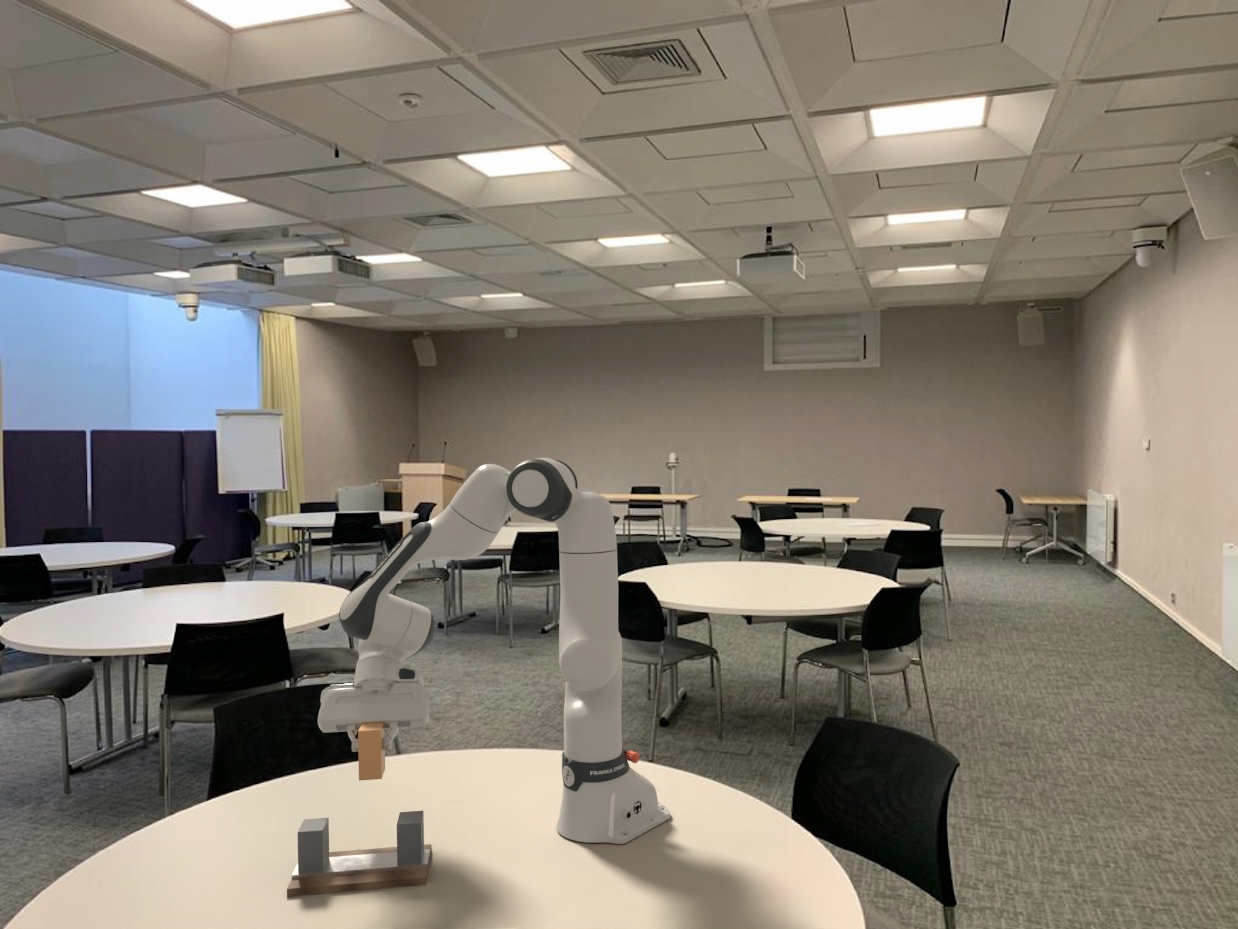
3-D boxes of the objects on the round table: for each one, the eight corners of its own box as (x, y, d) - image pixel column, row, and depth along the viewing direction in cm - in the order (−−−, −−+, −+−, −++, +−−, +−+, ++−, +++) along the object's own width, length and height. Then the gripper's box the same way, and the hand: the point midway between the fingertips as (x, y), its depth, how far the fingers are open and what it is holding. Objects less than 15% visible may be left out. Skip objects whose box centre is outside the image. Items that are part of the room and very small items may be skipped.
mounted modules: (424, 850, 147) (423, 810, 147) (421, 864, 142) (420, 822, 142) (305, 859, 144) (304, 819, 144) (298, 874, 139) (297, 832, 139)
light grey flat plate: (430, 852, 147) (430, 849, 147) (427, 867, 142) (427, 864, 142) (299, 863, 144) (299, 859, 144) (291, 879, 138) (291, 875, 138)
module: (385, 769, 157) (384, 721, 157) (381, 779, 152) (380, 729, 152) (363, 770, 157) (362, 722, 157) (358, 780, 152) (357, 731, 152)
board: (431, 850, 150) (431, 844, 150) (426, 884, 138) (425, 877, 138) (303, 861, 147) (303, 854, 147) (286, 896, 135) (286, 889, 135)
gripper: (319, 676, 160) (309, 745, 150) (429, 671, 163) (426, 737, 153) (324, 693, 164) (315, 761, 155) (431, 687, 167) (428, 753, 157)
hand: (371, 749), depth 154 cm, fingers closed on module, 4 cm apart
